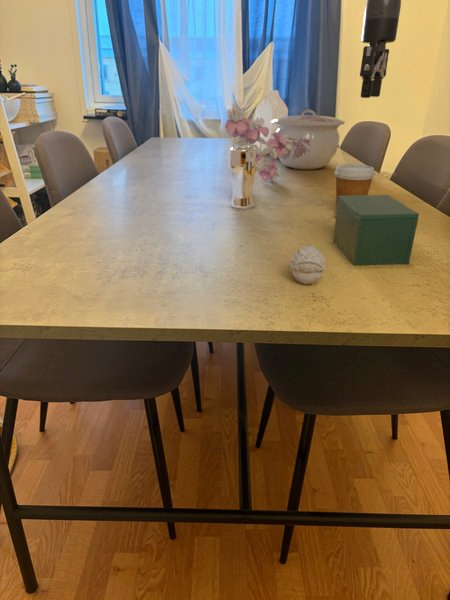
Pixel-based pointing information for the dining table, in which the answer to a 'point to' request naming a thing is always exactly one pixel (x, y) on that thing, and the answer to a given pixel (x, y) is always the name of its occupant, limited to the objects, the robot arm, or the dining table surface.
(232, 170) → the beer glass
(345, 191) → the disposable coffee cup
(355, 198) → the bread bin lid
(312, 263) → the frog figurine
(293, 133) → the chamber pot
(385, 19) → the robot arm
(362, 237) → the green box
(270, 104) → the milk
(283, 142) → the flower
